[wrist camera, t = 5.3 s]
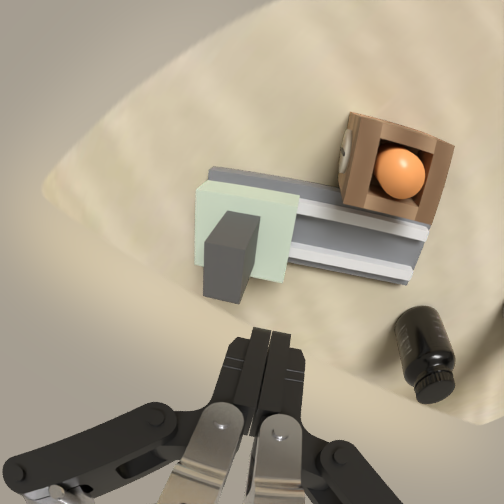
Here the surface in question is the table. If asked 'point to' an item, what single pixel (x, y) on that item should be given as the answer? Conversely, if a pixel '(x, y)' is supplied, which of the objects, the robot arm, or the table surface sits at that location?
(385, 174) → the button
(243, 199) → the carriage
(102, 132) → the table surface
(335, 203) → the track
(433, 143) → the cabinet
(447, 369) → the supplement bottle
